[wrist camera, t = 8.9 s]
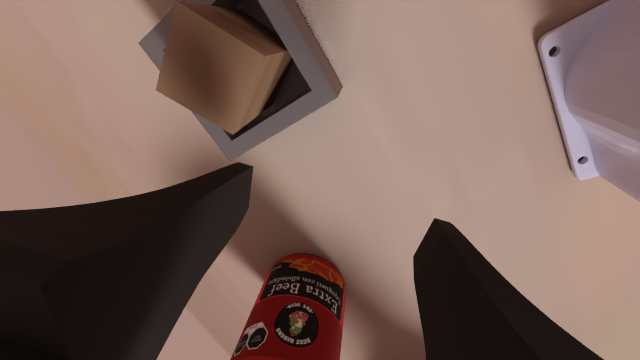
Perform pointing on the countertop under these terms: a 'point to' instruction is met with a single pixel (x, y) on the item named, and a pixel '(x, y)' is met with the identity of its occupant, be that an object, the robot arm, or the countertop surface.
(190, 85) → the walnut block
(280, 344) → the canned food
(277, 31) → the well
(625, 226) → the countertop surface
